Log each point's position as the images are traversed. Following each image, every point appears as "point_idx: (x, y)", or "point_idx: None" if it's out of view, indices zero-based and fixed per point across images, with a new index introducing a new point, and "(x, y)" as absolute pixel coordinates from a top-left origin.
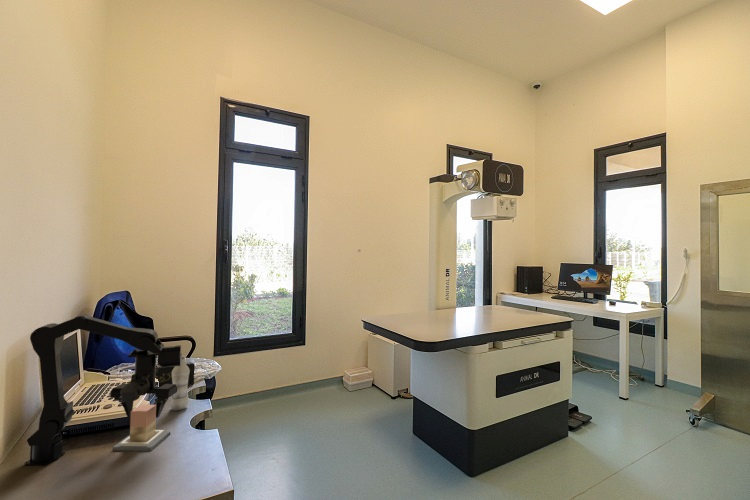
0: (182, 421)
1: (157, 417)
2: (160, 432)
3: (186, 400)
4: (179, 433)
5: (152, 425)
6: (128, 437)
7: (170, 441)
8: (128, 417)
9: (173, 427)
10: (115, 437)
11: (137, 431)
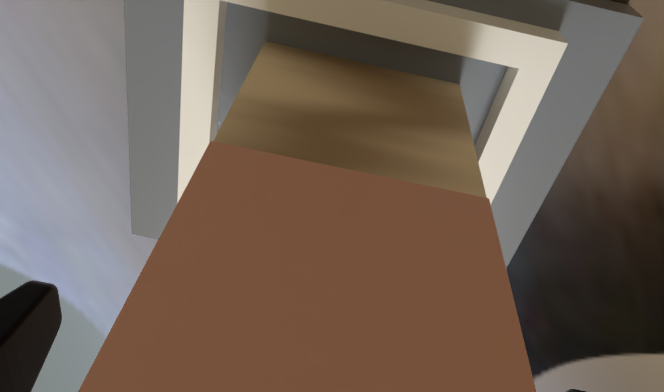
0: None
1: (24, 283)
2: None
3: None
4: (65, 214)
5: None
6: (500, 169)
7: (49, 78)
8: (578, 390)
9: None
10: (645, 267)
11: (364, 137)
